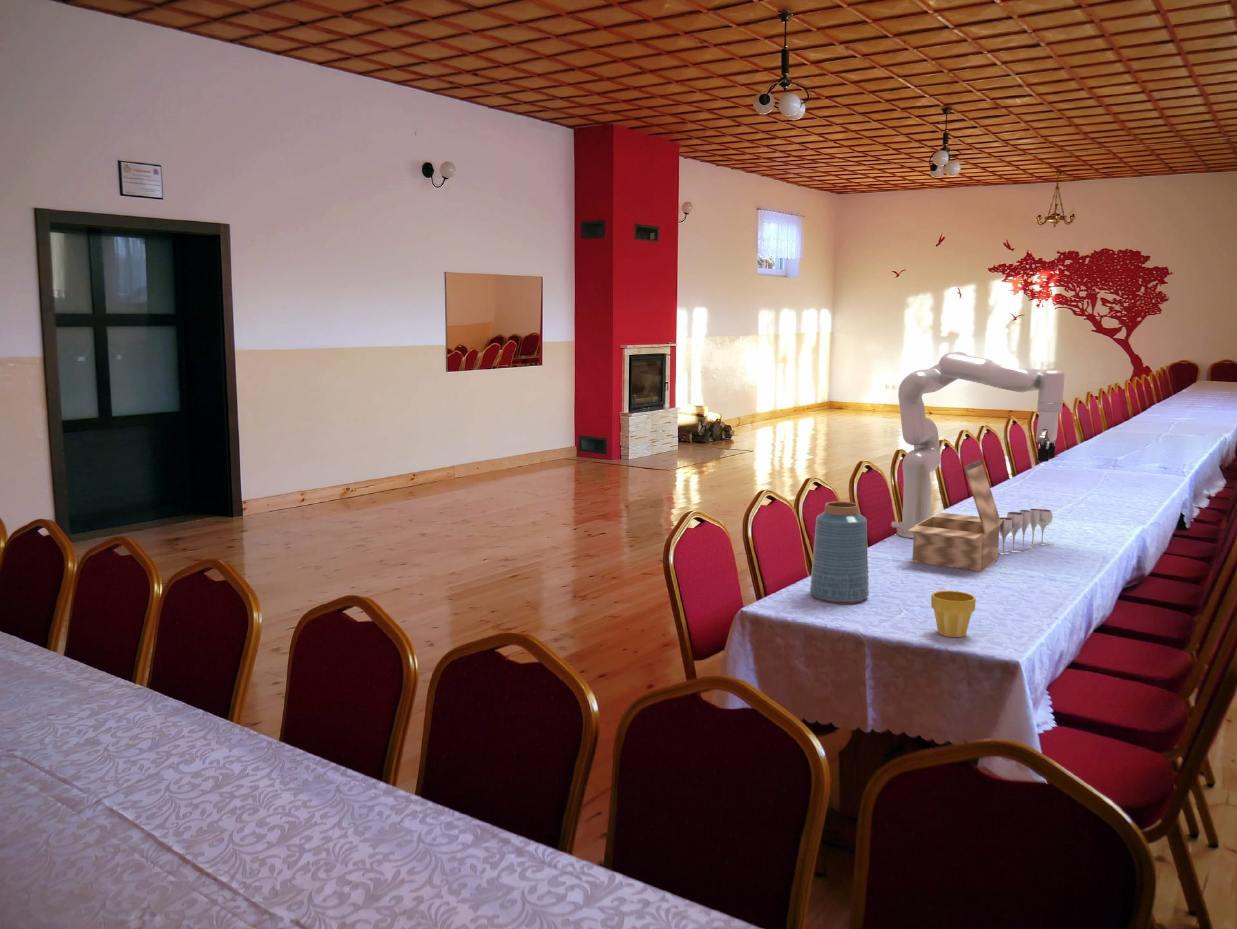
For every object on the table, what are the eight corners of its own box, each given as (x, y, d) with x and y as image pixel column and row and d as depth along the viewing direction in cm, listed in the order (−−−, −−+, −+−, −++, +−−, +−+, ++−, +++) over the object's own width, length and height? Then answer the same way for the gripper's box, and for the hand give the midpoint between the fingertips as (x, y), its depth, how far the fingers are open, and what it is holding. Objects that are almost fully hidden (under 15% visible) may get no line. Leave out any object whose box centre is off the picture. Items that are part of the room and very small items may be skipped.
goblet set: (1006, 556, 321) (1008, 516, 319) (991, 552, 326) (993, 514, 324) (1054, 544, 337) (1056, 507, 335) (1038, 541, 342) (1041, 504, 340)
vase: (835, 608, 264) (838, 511, 260) (798, 593, 278) (800, 502, 274) (881, 599, 272) (884, 506, 268) (842, 586, 286) (845, 497, 282)
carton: (904, 566, 307) (905, 529, 306) (937, 546, 335) (939, 512, 333) (975, 577, 295) (977, 538, 293) (1003, 554, 322) (1005, 519, 320)
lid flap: (963, 466, 301) (965, 466, 300) (979, 460, 315) (981, 459, 315) (984, 533, 300) (986, 533, 299) (999, 523, 314) (1001, 523, 313)
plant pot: (937, 624, 249) (938, 587, 248) (978, 631, 244) (980, 593, 242) (924, 635, 241) (926, 597, 240) (967, 642, 235) (969, 603, 234)
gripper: (1043, 405, 328) (1039, 455, 331) (1031, 409, 314) (1028, 461, 316) (1067, 406, 324) (1063, 457, 326) (1056, 410, 310) (1052, 463, 312)
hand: (1046, 459), depth 321 cm, fingers open, 9 cm apart
